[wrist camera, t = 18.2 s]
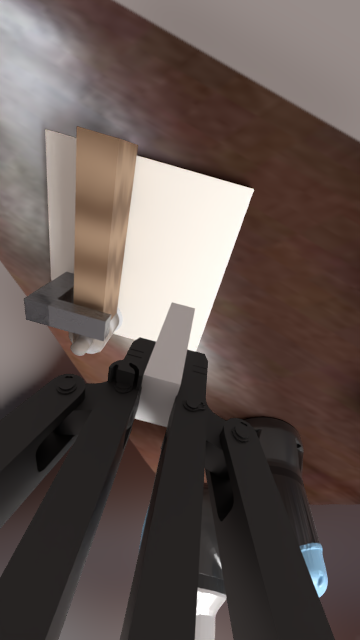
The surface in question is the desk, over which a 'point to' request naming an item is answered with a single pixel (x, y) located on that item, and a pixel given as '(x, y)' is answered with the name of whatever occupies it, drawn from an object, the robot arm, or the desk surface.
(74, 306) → the bracket
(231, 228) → the board
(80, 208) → the link
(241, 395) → the desk surface
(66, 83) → the desk surface
